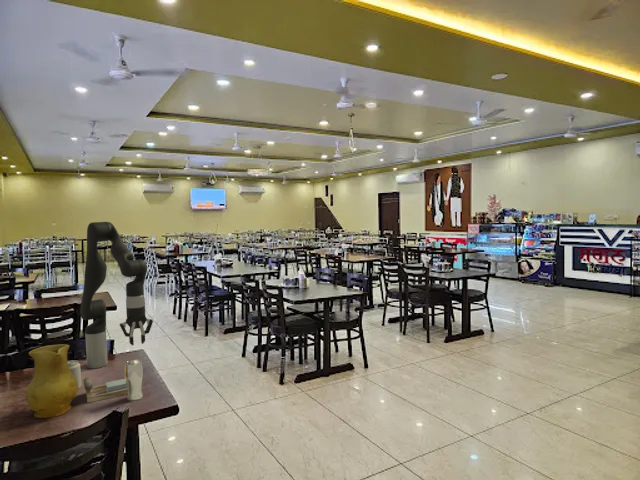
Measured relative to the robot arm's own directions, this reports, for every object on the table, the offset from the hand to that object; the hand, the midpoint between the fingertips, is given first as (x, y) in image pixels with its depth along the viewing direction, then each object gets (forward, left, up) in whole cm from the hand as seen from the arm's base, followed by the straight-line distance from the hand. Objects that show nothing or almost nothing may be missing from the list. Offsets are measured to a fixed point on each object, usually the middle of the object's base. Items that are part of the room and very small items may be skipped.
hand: (137, 343), depth 186 cm
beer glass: (+11, -4, -19) cm, 23 cm away
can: (-14, -26, -19) cm, 35 cm away
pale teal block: (0, -9, -19) cm, 21 cm away
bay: (0, -13, -19) cm, 23 cm away
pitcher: (+5, -32, -19) cm, 38 cm away
